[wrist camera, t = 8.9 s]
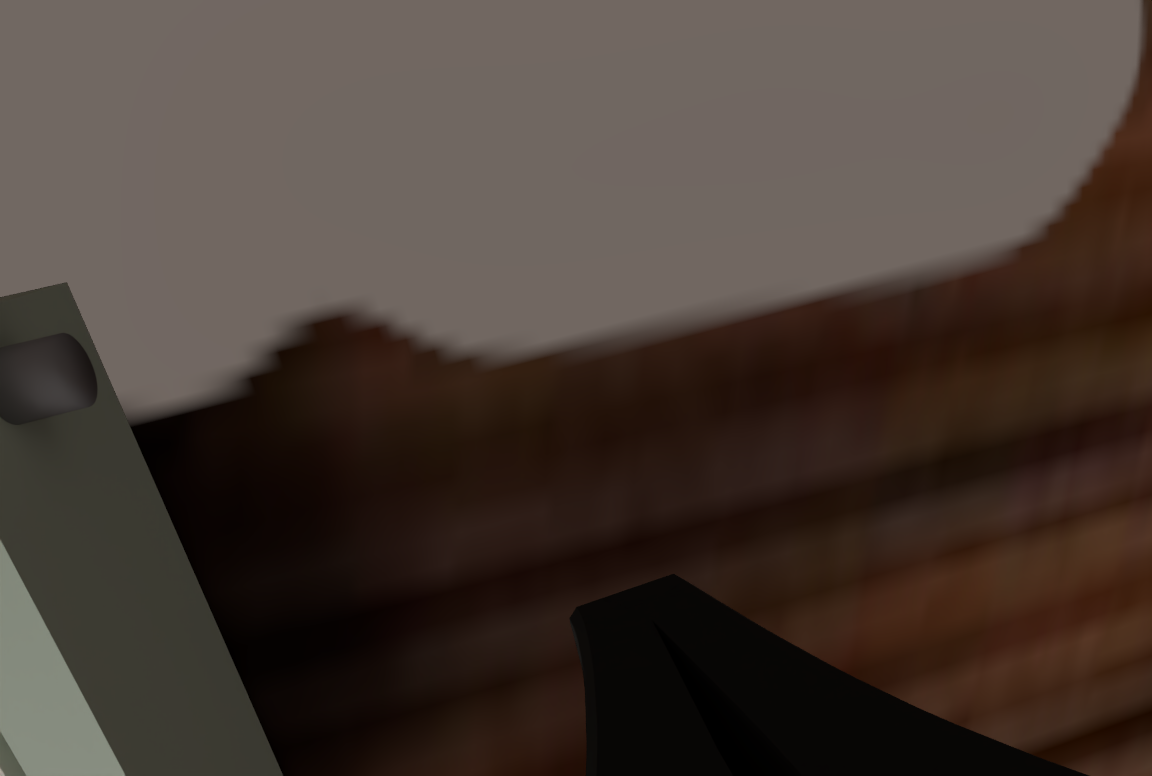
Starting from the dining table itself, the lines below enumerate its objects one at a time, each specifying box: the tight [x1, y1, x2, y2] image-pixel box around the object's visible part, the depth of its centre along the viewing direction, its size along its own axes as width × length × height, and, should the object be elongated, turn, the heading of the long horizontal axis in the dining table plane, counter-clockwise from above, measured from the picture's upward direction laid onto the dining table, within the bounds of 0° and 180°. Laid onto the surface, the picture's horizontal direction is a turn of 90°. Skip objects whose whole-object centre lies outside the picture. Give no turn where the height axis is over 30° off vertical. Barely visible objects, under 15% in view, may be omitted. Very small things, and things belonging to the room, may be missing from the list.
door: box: [0, 283, 283, 776], centre depth 14 cm, size 17×2×5 cm, turn 12°
